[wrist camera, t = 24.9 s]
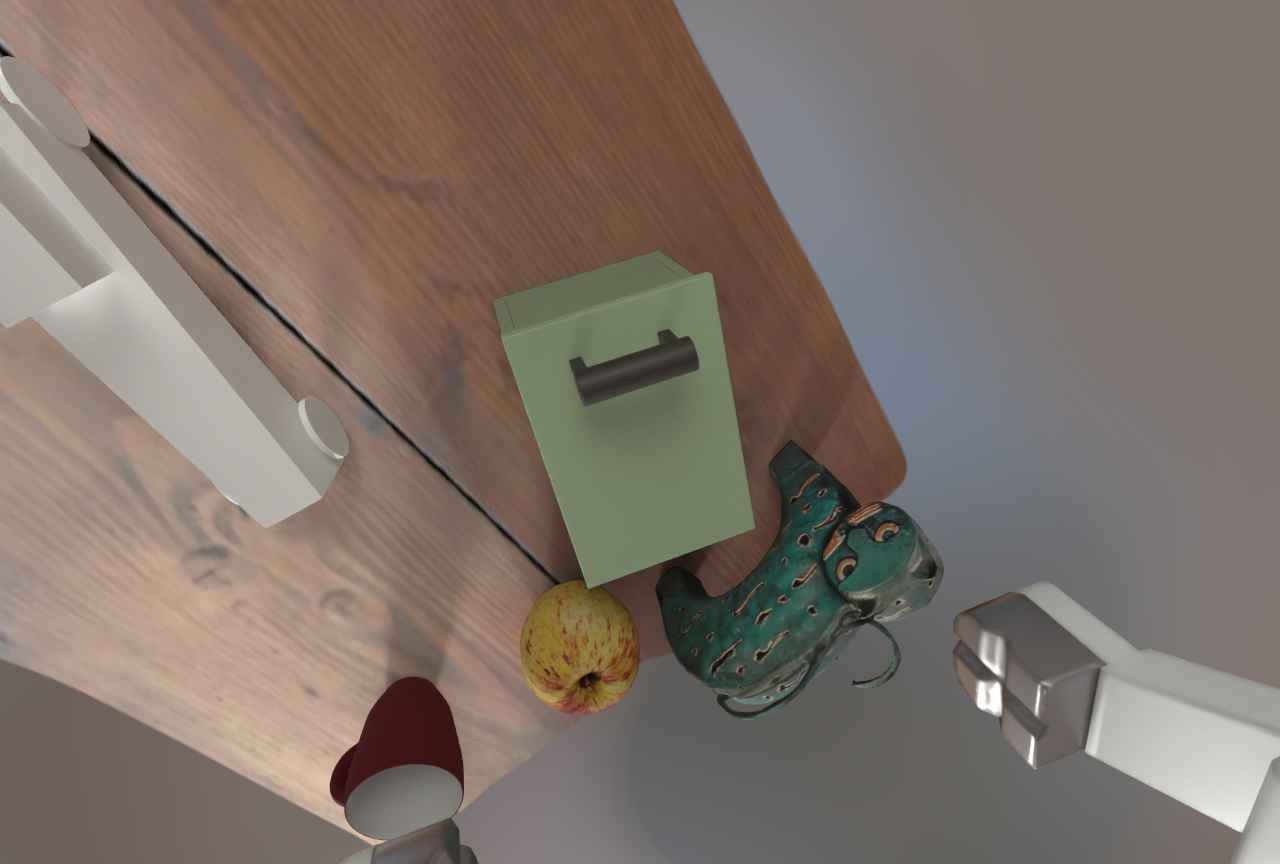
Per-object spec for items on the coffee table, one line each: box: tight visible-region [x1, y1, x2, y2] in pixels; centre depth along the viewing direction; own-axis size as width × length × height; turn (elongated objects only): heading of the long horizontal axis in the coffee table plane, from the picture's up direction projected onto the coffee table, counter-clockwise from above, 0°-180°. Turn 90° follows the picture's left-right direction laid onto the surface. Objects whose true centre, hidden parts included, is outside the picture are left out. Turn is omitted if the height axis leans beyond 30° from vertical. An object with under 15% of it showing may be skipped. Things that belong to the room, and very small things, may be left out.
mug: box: [330, 677, 464, 840], centre depth 51 cm, size 10×8×10 cm
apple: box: [520, 580, 639, 715], centre depth 51 cm, size 9×9×10 cm
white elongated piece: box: [0, 56, 349, 529], centre depth 35 cm, size 25×7×9 cm, turn 25°
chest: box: [492, 251, 694, 334], centre depth 44 cm, size 17×12×10 cm
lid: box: [501, 272, 755, 589], centre depth 37 cm, size 17×12×5 cm, turn 13°
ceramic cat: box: [655, 440, 944, 720], centre depth 48 cm, size 20×6×20 cm, turn 136°
